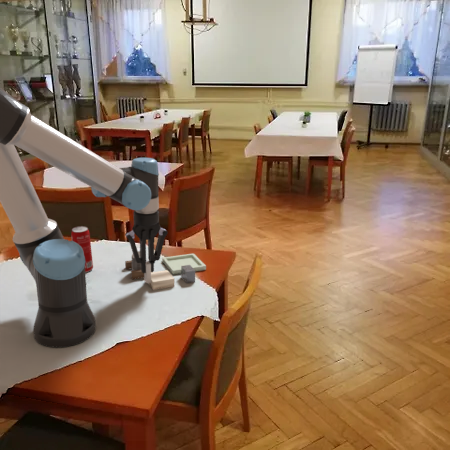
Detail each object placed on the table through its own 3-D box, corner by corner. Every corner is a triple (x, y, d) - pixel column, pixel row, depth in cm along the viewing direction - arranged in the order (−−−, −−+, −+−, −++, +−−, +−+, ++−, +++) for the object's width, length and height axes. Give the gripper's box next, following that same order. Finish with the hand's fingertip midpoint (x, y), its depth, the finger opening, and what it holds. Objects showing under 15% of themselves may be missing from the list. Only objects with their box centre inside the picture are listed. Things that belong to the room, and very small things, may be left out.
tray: (206, 269, 157) (206, 265, 157) (173, 274, 152) (173, 270, 152) (193, 257, 167) (193, 253, 167) (162, 261, 163) (162, 257, 162)
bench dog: (195, 281, 148) (195, 270, 147) (186, 283, 147) (186, 271, 145) (189, 275, 152) (189, 264, 151) (181, 277, 151) (181, 266, 150)
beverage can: (95, 266, 156) (93, 225, 151) (88, 274, 150) (85, 232, 145) (79, 265, 157) (76, 224, 152) (71, 273, 150) (67, 230, 146)
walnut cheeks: (153, 276, 151) (153, 269, 150) (132, 279, 148) (132, 272, 147) (145, 265, 159) (145, 258, 158) (125, 267, 156) (125, 261, 155)
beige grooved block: (174, 287, 144) (174, 278, 143) (153, 290, 142) (153, 282, 141) (167, 278, 150) (167, 270, 149) (146, 281, 147) (146, 273, 147)
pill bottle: (143, 275, 151) (142, 252, 148) (129, 274, 152) (129, 250, 149) (148, 270, 155) (147, 247, 152) (135, 268, 156) (134, 245, 153)
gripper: (163, 204, 142) (163, 273, 149) (121, 208, 136) (124, 279, 144) (170, 211, 135) (171, 282, 143) (127, 215, 130) (130, 289, 138)
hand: (147, 281), depth 143 cm, fingers closed
